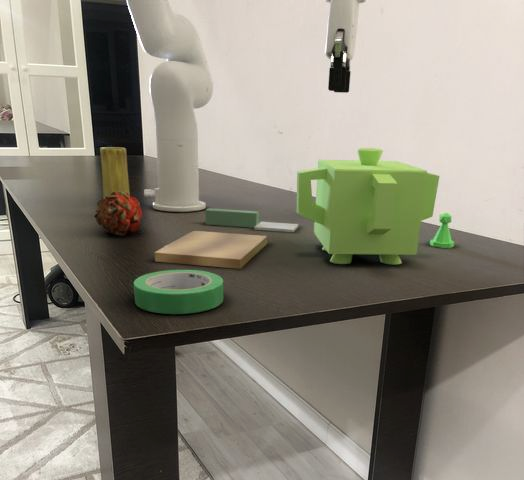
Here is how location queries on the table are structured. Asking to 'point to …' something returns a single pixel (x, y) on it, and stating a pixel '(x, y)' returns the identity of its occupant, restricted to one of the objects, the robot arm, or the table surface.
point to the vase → (114, 170)
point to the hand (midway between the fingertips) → (338, 91)
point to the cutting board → (212, 249)
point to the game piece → (443, 233)
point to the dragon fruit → (119, 213)
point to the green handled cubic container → (367, 206)
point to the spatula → (244, 220)
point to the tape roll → (178, 291)
